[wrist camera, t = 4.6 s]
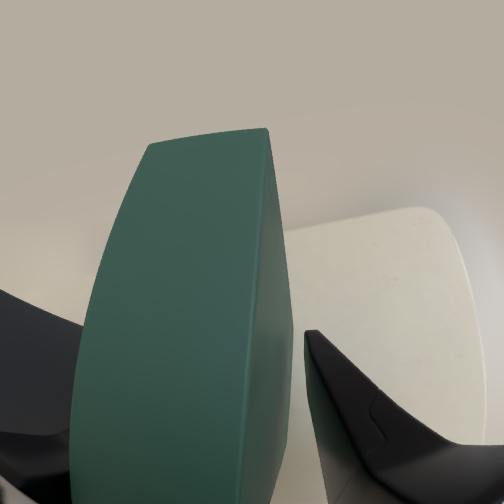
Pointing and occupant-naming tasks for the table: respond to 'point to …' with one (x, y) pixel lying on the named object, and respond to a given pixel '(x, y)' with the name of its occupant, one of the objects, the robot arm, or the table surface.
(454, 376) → the table surface
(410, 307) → the table surface
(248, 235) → the green book
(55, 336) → the charcoal book
